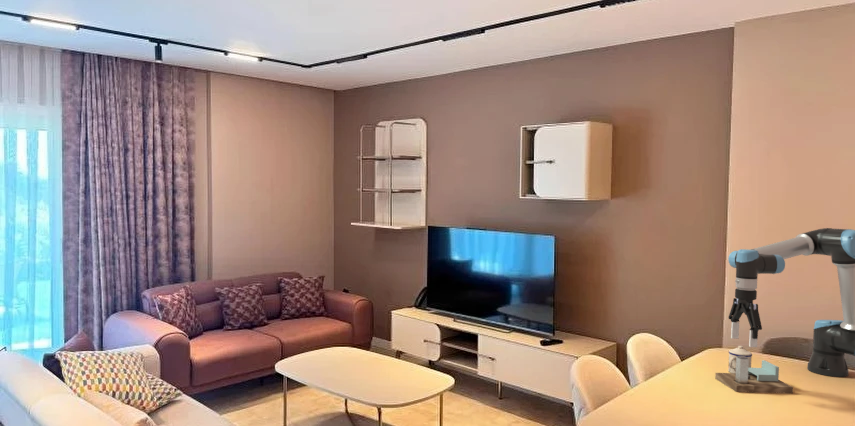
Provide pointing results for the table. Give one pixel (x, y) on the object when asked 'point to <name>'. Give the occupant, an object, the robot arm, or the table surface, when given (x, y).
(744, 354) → the teacup with lid
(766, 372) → the cover
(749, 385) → the base
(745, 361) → the pin
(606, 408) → the table surface
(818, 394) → the table surface
